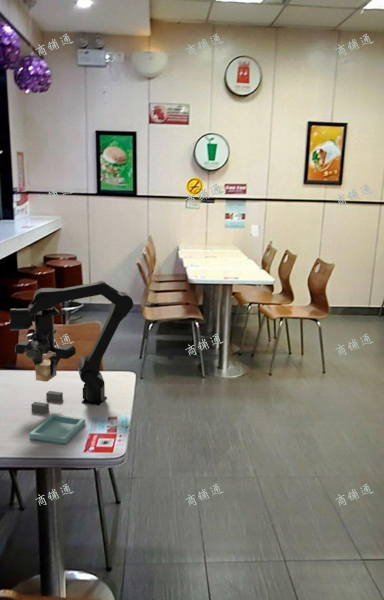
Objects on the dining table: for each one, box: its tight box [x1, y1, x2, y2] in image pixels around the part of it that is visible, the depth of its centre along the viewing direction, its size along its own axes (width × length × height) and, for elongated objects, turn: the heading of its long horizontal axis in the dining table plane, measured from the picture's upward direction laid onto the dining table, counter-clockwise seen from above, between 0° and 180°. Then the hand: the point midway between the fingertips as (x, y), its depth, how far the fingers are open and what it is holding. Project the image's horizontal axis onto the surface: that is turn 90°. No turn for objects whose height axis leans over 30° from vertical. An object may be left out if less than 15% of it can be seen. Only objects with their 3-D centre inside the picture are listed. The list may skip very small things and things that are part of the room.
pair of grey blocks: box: [30, 390, 64, 414], centre depth 161 cm, size 5×11×2 cm, turn 166°
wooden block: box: [34, 358, 58, 383], centre depth 159 cm, size 4×6×5 cm, turn 166°
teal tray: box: [29, 413, 86, 446], centre depth 144 cm, size 11×13×2 cm
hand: (46, 374), depth 159 cm, fingers closed on wooden block, 4 cm apart
